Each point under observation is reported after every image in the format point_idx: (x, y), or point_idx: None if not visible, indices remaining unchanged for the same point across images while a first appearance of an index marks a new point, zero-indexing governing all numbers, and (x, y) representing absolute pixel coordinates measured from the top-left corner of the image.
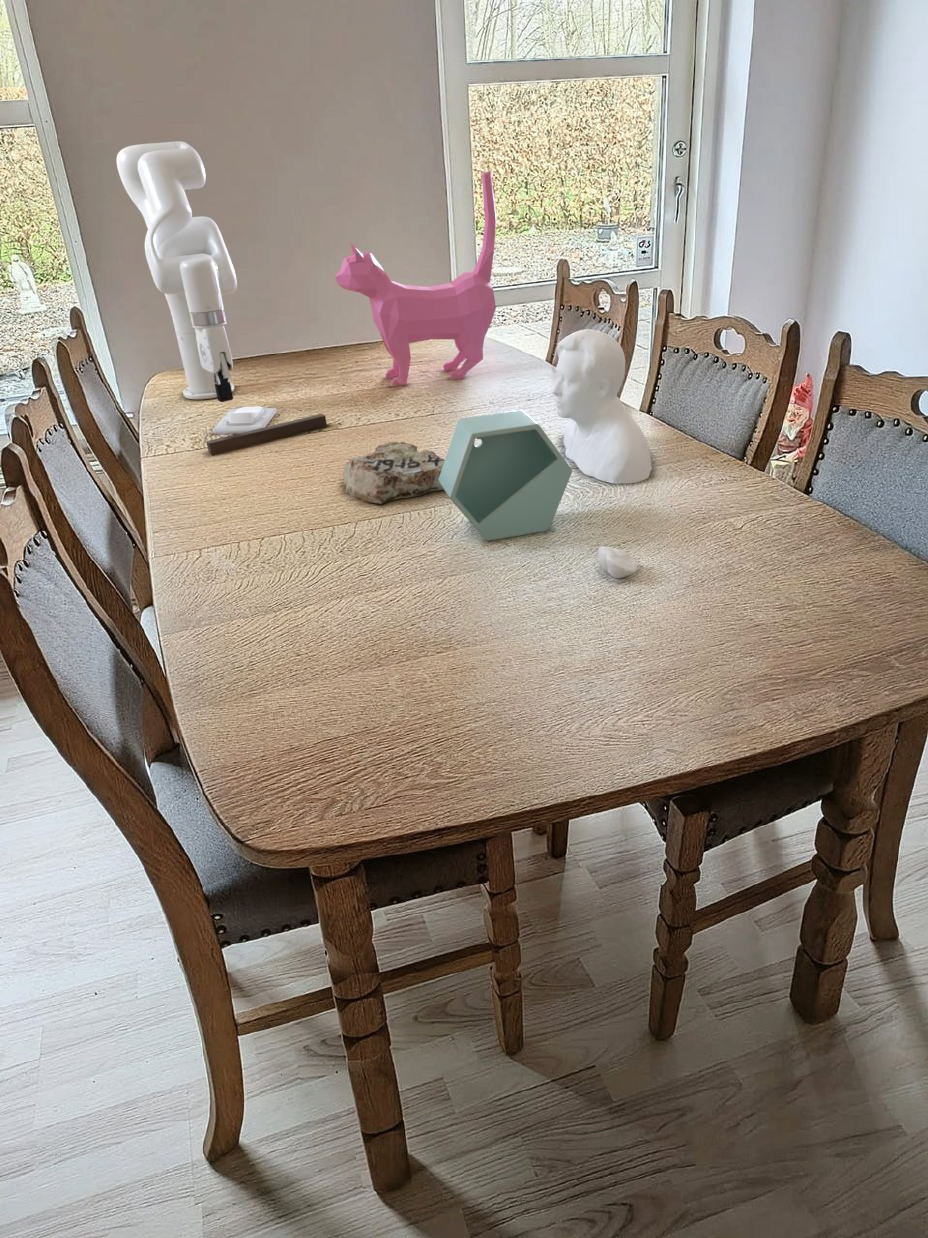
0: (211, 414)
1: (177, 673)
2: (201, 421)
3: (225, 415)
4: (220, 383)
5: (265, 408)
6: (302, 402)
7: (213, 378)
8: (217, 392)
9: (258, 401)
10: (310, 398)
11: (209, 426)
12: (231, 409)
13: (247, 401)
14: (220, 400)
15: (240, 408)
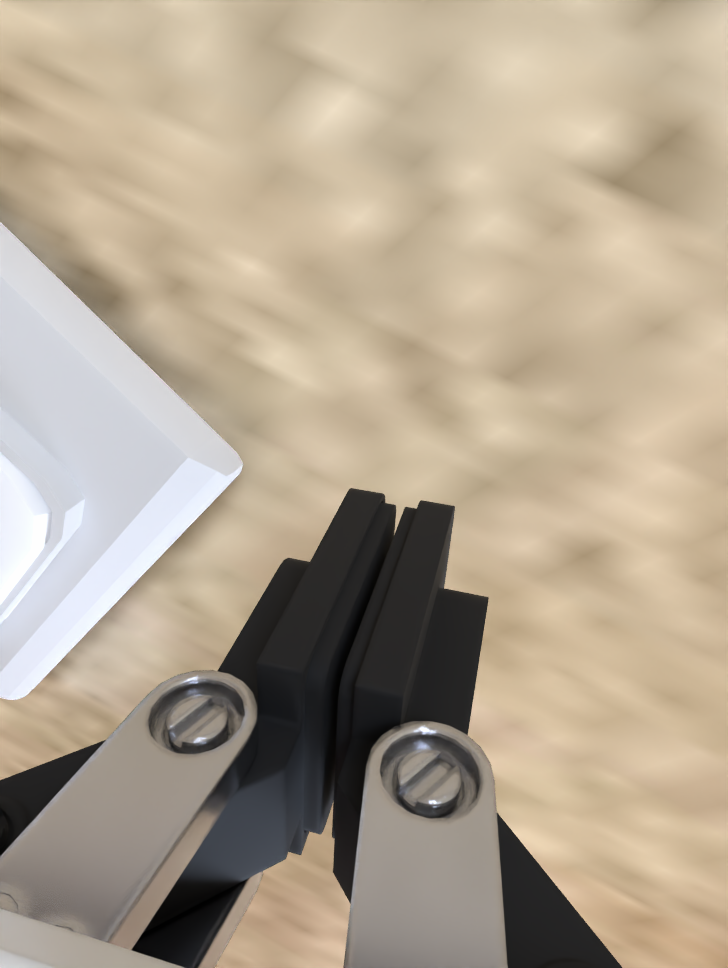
0: (535, 313)
1: None
2: (331, 49)
3: (22, 315)
4: (160, 715)
5: (7, 654)
6: None
7: (443, 821)
8: (383, 578)
9: (527, 809)
10: (270, 941)
11: (41, 49)
12: (170, 467)
13: (631, 777)
14: (344, 499)
15: (4, 506)
